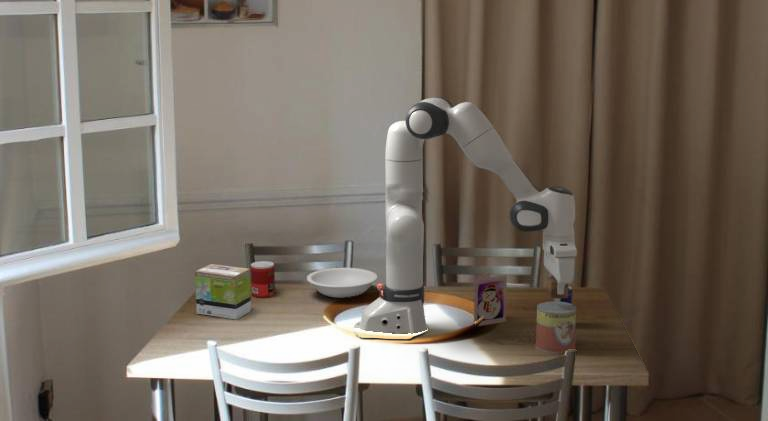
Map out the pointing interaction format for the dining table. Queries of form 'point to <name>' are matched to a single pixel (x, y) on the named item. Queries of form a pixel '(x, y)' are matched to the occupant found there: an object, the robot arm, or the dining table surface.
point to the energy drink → (567, 300)
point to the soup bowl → (342, 281)
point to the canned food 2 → (555, 326)
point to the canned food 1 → (262, 279)
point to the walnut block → (552, 289)
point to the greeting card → (490, 299)
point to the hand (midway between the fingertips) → (557, 290)
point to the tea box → (223, 291)
